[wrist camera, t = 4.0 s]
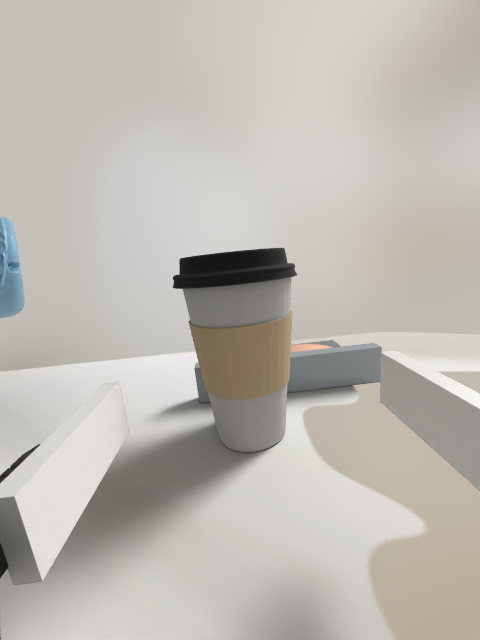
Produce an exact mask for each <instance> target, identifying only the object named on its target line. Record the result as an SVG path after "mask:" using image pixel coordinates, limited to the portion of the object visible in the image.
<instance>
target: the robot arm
mask: <svg viewBox="0 0 480 640" xmlns="http://www.w3.org/2000/svg"><path fill="white" fill-rule="evenodd" d="M23 292H24V291H23V283H22V276H21V270H20V263H19V255H18V249H17V243H16V238H15V232H14V228H13V224H12V222H11V221H10V220H9V219H7V218H4V217H0V318H4V317H9V316H13V315H16V314H18V313H19V312H20V311H21V310H22V309H23V306H24V293H23ZM380 394H381V396H380V402H381V403H382V404H383V405H384V406H385V407H387V408H388V409H389V410H390V411H391V412H392V413H393V414H394V415H396V416H397V417H398V418H399V419H400V420H401V421H402V422H403V423H404V424H406V425H407V426H408V427H409V428H410V429H411V430H412V431H413V432H414V433H416V434H417V435H418V436H419V437H420V438H421V439H422V440H423V441H424V442H426V443H427V444H428V445H429V446H430V447H431V448H432V449H433V450H434V451H436V452H437V453H438V454H439V455H440V456H441V457H442V458H443V459H444V460H446V461H447V462H448V463H449V464H450V465H451V466H453V468H454V469H456V470H457V471H458V472H459V473H460V474H461V475H462V476H463V477H464V478H466V479H467V480H468V481H469V482H470V483H471V484H472V485H474V486H475V487H476V488H477V489H478V490H479V491H480V393H477V392H476V391H473V390H472V389H470V388H468V387H466V386H464V385H462V384H460V383H458V382H456V381H454V380H452V379H450V378H448V377H446V376H444V375H442V374H440V373H438V372H437V371H435V370H433V369H431V368H429V367H427V366H425V365H423V364H421V363H419V362H417V361H415V360H413V359H411V358H409V357H407V356H405V355H403V354H401V353H399V352H397V351H388V352H381V391H380ZM129 432H130V431H129V426H128V421H127V416H126V412H125V407H124V402H123V397H122V392H121V388H120V383H119V382H114V383H105V384H103V385H102V386H101V387H100V388H99V389H98V390H97V391H95V392H94V393H93V394H92V395H91V396H90V397H89V398H88V399H87V400H86V401H85V402H84V403H83V404H82V405H81V406H80V407H79V408H78V409H77V410H76V411H75V412H74V413H73V414H72V415H71V416H70V417H69V418H68V419H67V420H65V421H64V422H63V423H62V424H61V425H60V426H59V427H58V428H57V429H56V430H55V431H54V432H53V433H52V434H51V435H50V436H49V437H48V438H47V439H46V440H45V441H44V442H43V443H42V444H39V445H37V446H35V447H34V448H32V449H31V450H29V451H28V452H26V453H25V454H23V455H22V456H21V457H20V458H19V459H18V460H17V461H16V462H14V463H13V464H12V465H11V467H10V468H8V469H7V470H6V471H5V472H4V473H3V474H2V475H0V578H1V576H2V575H3V574H4V572H5V571H6V569H7V568H8V571H9V573H10V576H11V579H12V582H13V585H19V584H27V583H34V582H42V581H43V580H44V578H45V576H46V575H47V573H48V571H49V569H50V568H51V566H52V564H53V562H54V561H55V559H56V557H57V556H58V554H59V552H60V550H61V549H62V547H63V545H64V544H65V542H66V540H67V538H68V537H69V535H70V533H71V532H72V530H73V528H74V526H75V525H76V523H77V521H78V520H79V518H80V516H81V514H82V513H83V511H84V509H85V507H86V506H87V504H88V502H89V501H90V499H91V497H92V495H93V494H94V492H95V490H96V489H97V487H98V485H99V483H100V482H101V480H102V478H103V477H104V475H105V473H106V471H107V470H108V468H109V466H110V465H111V463H112V461H113V459H114V458H115V456H116V454H117V453H118V451H119V449H120V447H121V446H122V444H123V442H124V440H125V439H126V437H127V435H128V434H129ZM0 640H1V638H0Z"/></svg>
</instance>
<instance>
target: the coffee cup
mask: <svg viewBox="0 0 480 640" xmlns="http://www.w3.org/2000/svg"><path fill="white" fill-rule="evenodd" d="M294 268H295V265H294V264H292V263H289V264H288V263H287V258H286V253H285V249H284V248H270V249H257V250H244V251H234V252H225V253H216V254H207V255H200V256H192V257H186V258H181V259H180V275H175V276H174V277H173V280H174V285H173V288H177V289H178V288H179V289H183V292H184V296H185V300H186V304H187V308H188V313H189V316H190V321H189V325H190V329H191V333H192V337H193V341H194V345H195V349H196V353H197V358H198V362H199V366H200V370H201V374H202V378H203V382H204V386H205V388H206V390H207V391H208V394H209V398H210V402H211V406H212V410H213V414H214V418H215V422H216V426H217V430H218V434H219V438H220V439H221V441H222V443H223V444H224V445H225V446H227V447H228V448H230V449H232V450H234V451H239V452H256V451H260V450H264V449H267V448H269V447H271V446H273V445H275V444H277V443H278V442H279V441H280V440H281V439H282V438H283V437H284V434H285V427H286V404H287V384H288V382H289V377H290V353H291V327H292V312H291V311H290V300H291V298H290V296H291V277H293V276H296V275H297V274H296V272H295V270H294Z"/></svg>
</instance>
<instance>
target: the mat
mask: <svg viewBox="0 0 480 640" xmlns="http://www.w3.org/2000/svg"><path fill="white" fill-rule="evenodd" d="M334 347H341V346H340V345H339V344H337V343H336V342H334V341H333V340H329V341H320V342H311V343H303V344H294V345H291V352H299V351H308V350H317V349H326V348H334Z"/></svg>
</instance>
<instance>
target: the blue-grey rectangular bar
mask: <svg viewBox="0 0 480 640" xmlns="http://www.w3.org/2000/svg"><path fill="white" fill-rule="evenodd" d="M195 375H196V382H197V389H198V395H199V402H200V403H204V402H210V398H209V394H208V391H207V390H206V388H205V386H204V382H203V378H202V374H201V370H200V366H199V363H196V365H195ZM374 382H381V347H380V346H379V345H377V344H375V343H370V344H361V345H352V346H343V347H334V348H326V349H317V350H308V351H299V352H291V353H290V377H289V382H288V384H287V393H289V392H298V391H306V390H315V389H323V388H332V387H340V386H349V385H357V384H365V383H374Z"/></svg>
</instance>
